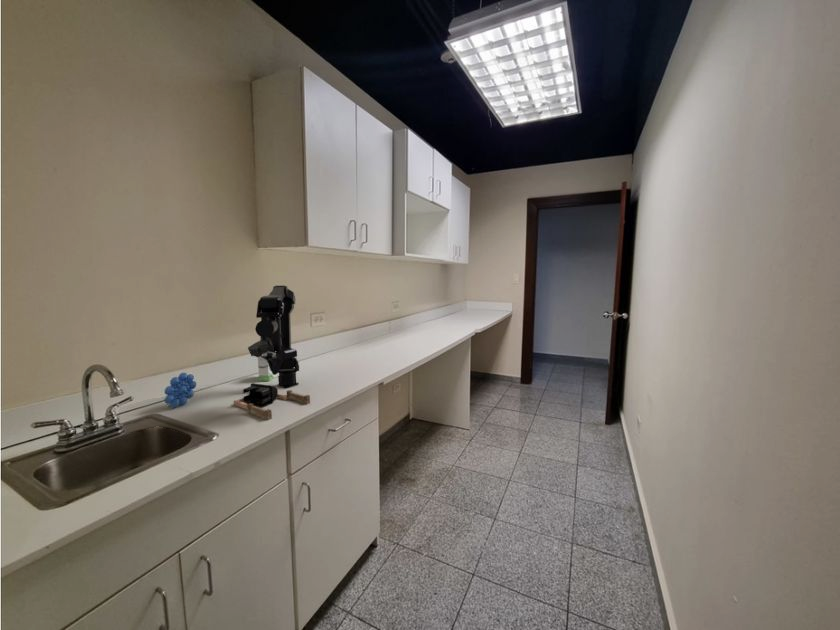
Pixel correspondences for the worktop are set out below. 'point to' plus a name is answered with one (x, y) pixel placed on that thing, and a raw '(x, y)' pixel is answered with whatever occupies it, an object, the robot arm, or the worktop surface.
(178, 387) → the grapes
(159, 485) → the worktop surface
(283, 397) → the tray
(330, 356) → the worktop surface
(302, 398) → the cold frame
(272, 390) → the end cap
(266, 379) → the ink box
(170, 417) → the worktop surface
